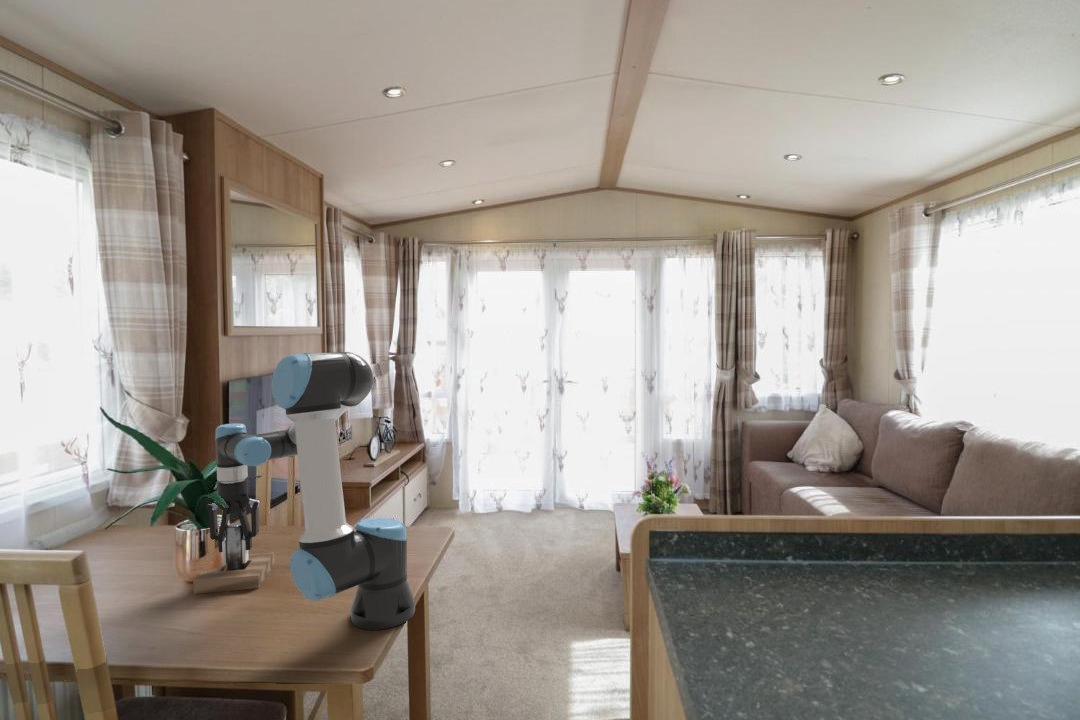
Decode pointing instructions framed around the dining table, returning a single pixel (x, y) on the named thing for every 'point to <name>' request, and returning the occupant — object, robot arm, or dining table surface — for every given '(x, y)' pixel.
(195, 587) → the jig
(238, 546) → the grey metal peg
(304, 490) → the robot arm
